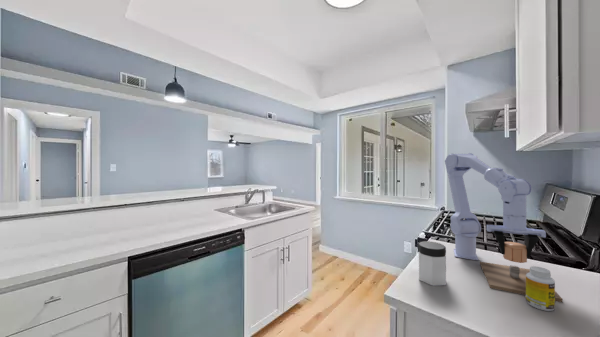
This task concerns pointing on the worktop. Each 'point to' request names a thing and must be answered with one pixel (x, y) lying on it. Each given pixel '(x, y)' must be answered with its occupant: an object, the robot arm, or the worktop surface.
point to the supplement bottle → (540, 289)
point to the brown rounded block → (515, 252)
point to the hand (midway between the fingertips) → (514, 255)
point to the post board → (508, 278)
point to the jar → (432, 263)
